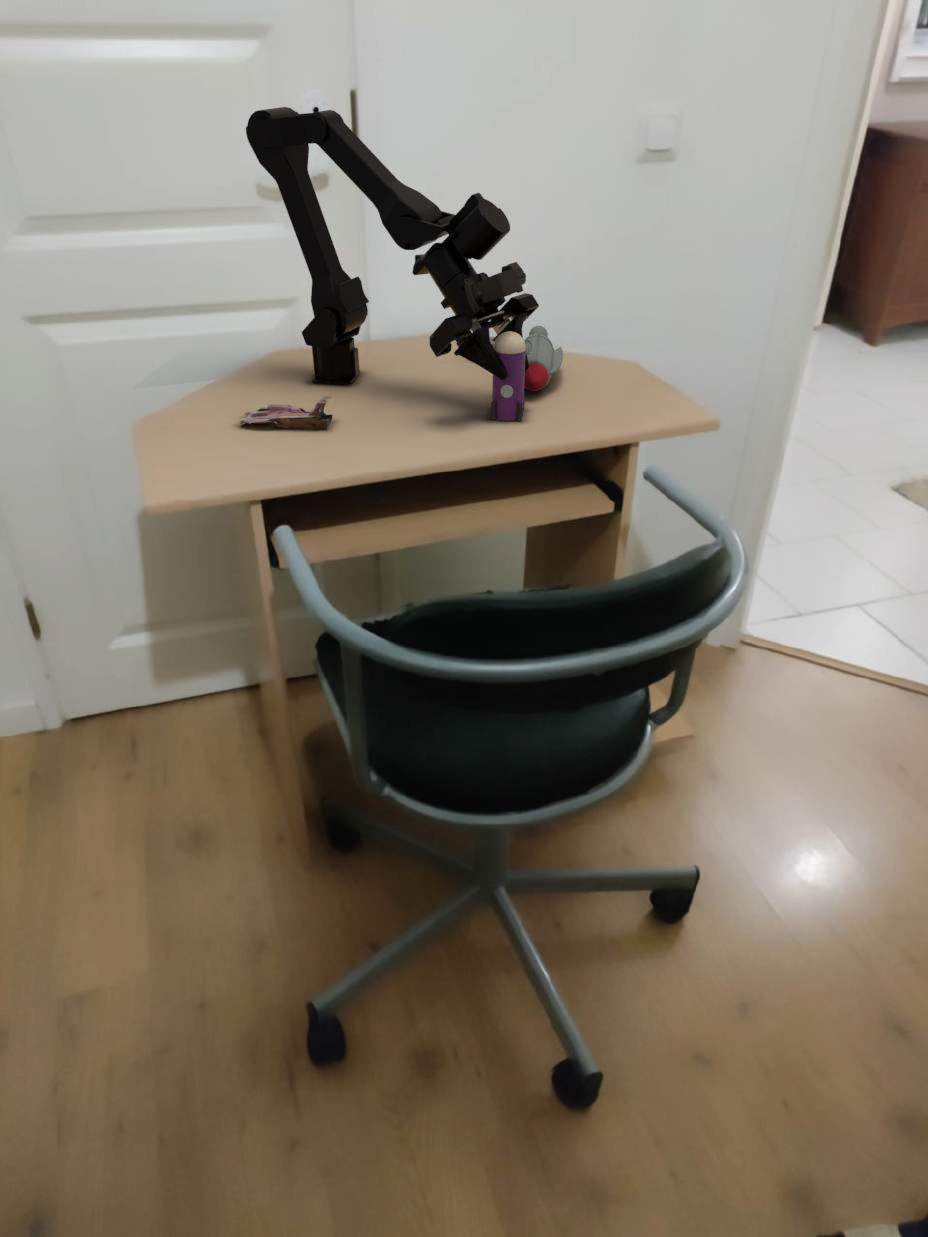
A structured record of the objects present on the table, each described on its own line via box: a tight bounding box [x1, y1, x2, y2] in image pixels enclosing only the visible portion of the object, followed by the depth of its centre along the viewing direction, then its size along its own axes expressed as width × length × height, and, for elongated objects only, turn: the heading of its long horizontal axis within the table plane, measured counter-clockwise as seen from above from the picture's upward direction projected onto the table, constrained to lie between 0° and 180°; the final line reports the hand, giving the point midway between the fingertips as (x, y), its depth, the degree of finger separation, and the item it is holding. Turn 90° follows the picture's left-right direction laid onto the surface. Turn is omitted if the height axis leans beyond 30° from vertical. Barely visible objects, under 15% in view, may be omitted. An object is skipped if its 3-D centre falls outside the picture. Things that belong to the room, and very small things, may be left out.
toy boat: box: [239, 395, 333, 430], centre depth 129 cm, size 13×6×4 cm, turn 84°
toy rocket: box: [490, 331, 526, 423], centre depth 130 cm, size 5×5×12 cm
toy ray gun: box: [489, 325, 564, 392], centre depth 147 cm, size 6×25×15 cm
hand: (516, 373), depth 129 cm, fingers closed on toy rocket, 5 cm apart
